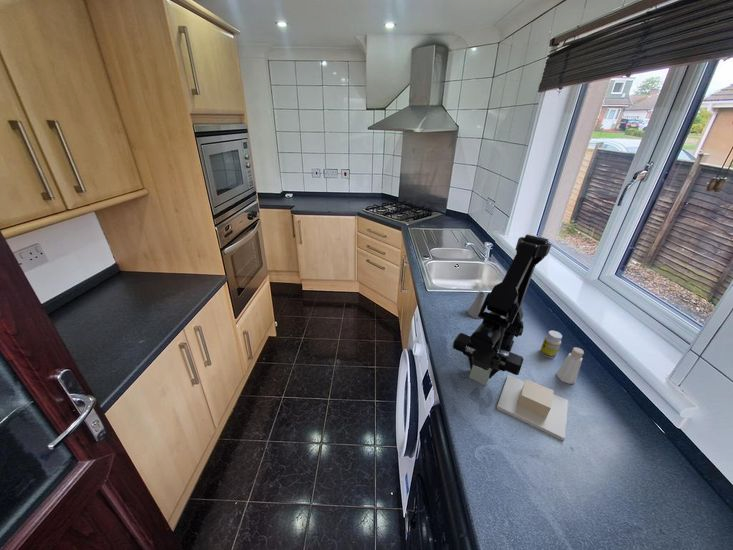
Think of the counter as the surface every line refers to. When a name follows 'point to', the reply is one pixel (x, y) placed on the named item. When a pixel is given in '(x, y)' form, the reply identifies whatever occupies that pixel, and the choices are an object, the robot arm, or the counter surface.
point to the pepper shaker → (571, 366)
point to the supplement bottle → (551, 344)
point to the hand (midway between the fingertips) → (480, 373)
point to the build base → (529, 417)
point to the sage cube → (480, 374)
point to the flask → (477, 305)
